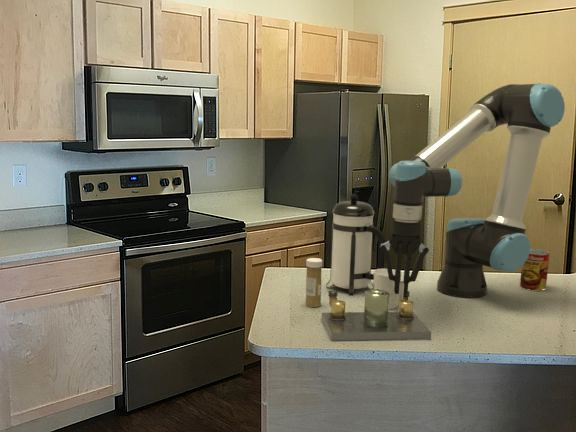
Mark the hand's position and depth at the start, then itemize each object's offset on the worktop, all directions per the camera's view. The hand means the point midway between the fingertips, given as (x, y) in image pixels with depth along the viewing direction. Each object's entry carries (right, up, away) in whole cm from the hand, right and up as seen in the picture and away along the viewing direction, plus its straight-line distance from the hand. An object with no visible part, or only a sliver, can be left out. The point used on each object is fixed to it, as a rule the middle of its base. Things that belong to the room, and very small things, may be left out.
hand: (399, 305), depth 171 cm
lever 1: (-18, -1, -3) cm, 18 cm away
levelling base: (-8, -5, -9) cm, 13 cm away
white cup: (-2, -2, +11) cm, 11 cm away
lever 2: (+1, -2, -1) cm, 2 cm away
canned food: (+49, +1, +33) cm, 59 cm away
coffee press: (-10, +1, +26) cm, 28 cm away
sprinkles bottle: (-23, -2, +10) cm, 25 cm away
